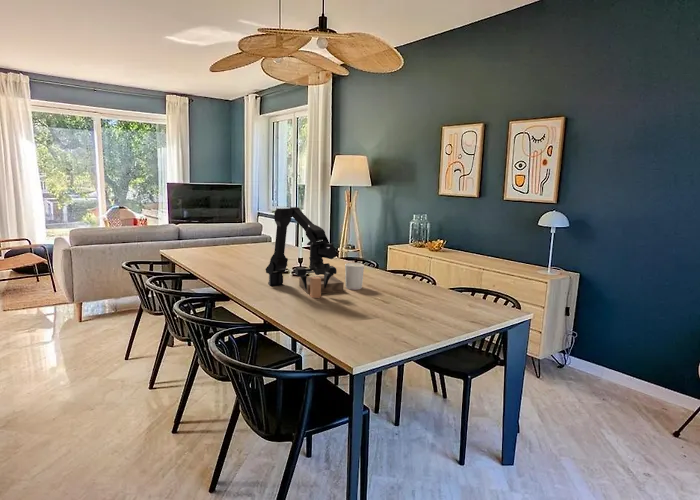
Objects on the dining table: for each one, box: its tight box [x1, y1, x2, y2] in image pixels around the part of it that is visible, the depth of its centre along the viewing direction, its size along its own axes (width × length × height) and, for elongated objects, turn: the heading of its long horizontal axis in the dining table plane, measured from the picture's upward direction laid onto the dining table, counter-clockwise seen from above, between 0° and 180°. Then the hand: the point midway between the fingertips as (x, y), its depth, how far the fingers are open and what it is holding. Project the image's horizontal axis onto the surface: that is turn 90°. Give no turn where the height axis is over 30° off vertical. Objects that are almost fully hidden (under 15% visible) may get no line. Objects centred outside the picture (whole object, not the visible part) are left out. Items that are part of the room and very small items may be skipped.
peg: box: [309, 276, 322, 299], centre depth 204 cm, size 4×4×9 cm
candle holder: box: [344, 262, 365, 291], centre depth 223 cm, size 10×10×12 cm
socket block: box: [298, 275, 345, 295], centre depth 219 cm, size 18×16×4 cm
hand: (315, 288), depth 204 cm, fingers open, 9 cm apart
